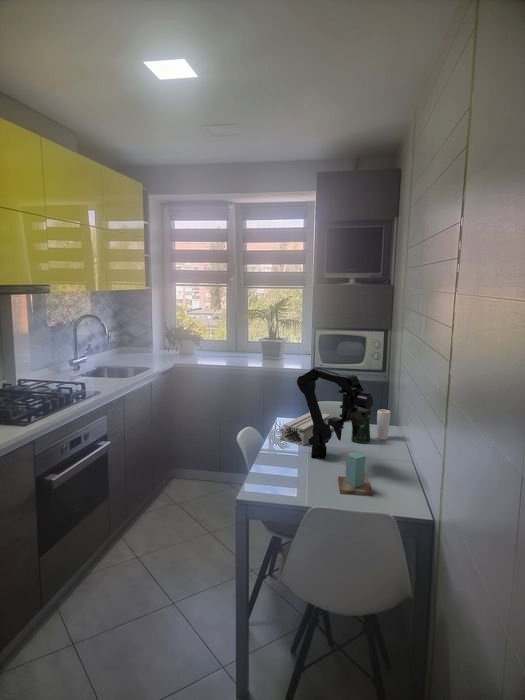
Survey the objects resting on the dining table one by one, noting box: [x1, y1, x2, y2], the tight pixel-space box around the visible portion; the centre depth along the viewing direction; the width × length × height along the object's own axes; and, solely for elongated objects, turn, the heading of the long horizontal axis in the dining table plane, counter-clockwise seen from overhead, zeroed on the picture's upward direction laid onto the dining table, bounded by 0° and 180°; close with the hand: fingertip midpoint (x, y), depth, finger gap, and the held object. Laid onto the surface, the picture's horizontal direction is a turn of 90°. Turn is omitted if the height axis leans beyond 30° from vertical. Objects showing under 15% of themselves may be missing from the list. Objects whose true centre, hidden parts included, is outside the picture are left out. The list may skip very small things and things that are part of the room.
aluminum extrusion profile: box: [279, 411, 332, 447], centre depth 229 cm, size 14×31×10 cm, turn 146°
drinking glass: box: [376, 408, 392, 441], centre depth 226 cm, size 7×7×15 cm
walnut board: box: [337, 475, 373, 497], centre depth 170 cm, size 12×12×2 cm
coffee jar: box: [350, 406, 372, 444], centre depth 221 cm, size 10×8×19 cm
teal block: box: [345, 451, 366, 488], centre depth 169 cm, size 5×5×12 cm
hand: (347, 438), depth 188 cm, fingers open, 9 cm apart
